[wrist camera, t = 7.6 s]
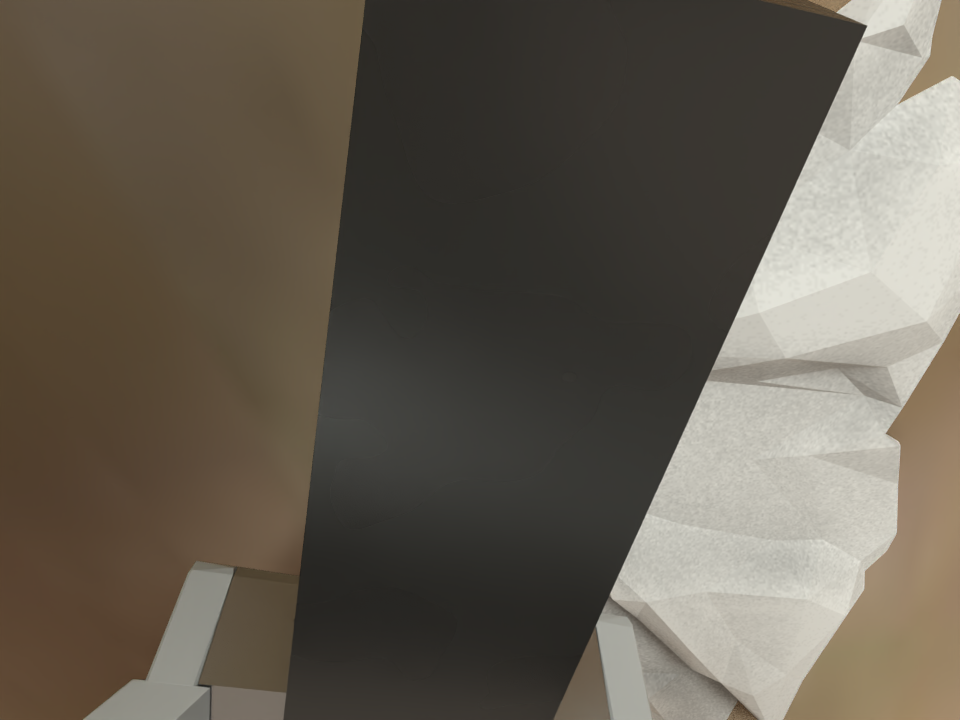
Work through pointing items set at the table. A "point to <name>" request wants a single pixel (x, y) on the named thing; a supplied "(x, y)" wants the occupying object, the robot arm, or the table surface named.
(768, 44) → the turner
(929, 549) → the table surface
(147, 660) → the table surface
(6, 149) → the table surface
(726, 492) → the cloth
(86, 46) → the table surface
